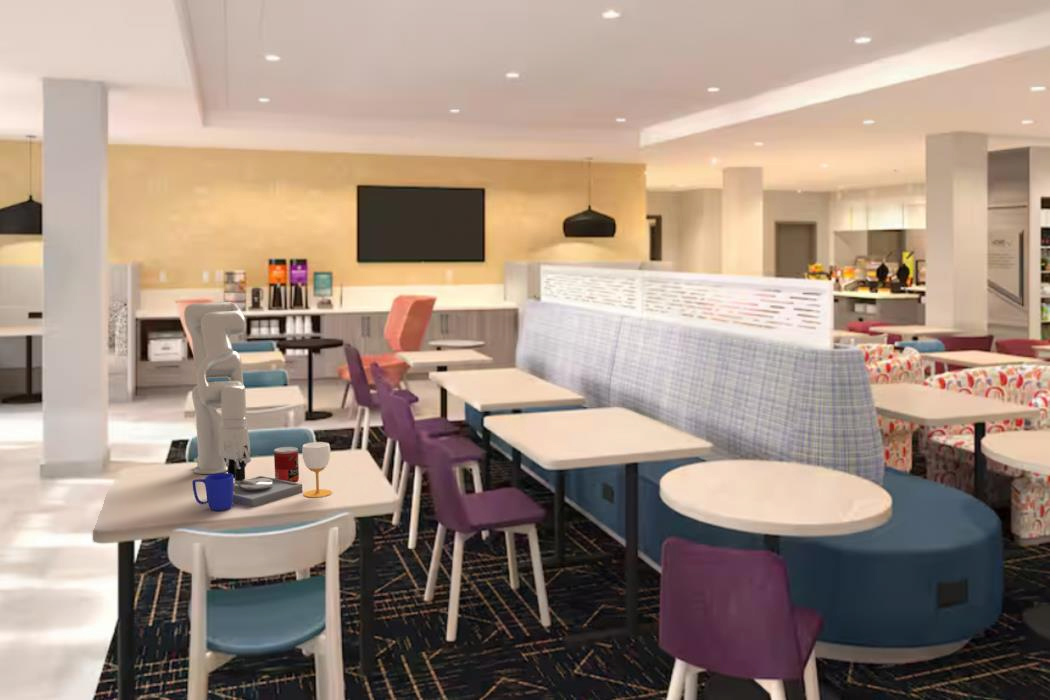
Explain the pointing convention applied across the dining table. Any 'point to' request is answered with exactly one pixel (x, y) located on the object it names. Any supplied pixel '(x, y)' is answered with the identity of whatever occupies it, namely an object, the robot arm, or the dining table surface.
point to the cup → (316, 464)
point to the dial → (252, 482)
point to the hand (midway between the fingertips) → (236, 478)
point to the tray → (265, 492)
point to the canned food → (286, 464)
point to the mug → (217, 491)
